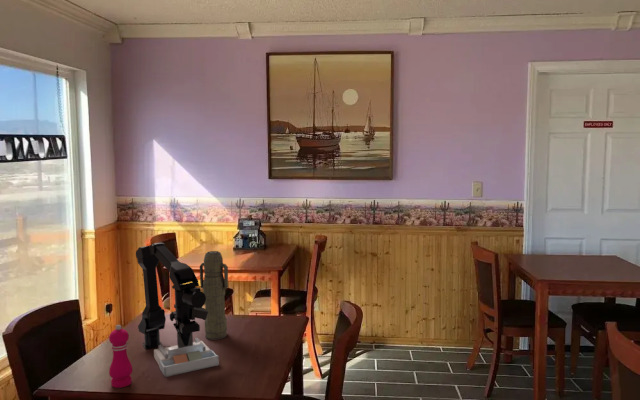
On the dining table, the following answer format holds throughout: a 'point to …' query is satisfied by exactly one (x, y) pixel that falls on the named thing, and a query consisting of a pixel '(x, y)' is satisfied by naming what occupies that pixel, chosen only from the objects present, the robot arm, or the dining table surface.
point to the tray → (189, 364)
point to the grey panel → (184, 347)
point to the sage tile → (194, 356)
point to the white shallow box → (163, 352)
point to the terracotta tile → (180, 359)
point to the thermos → (214, 294)
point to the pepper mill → (120, 359)
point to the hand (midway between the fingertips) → (185, 344)
